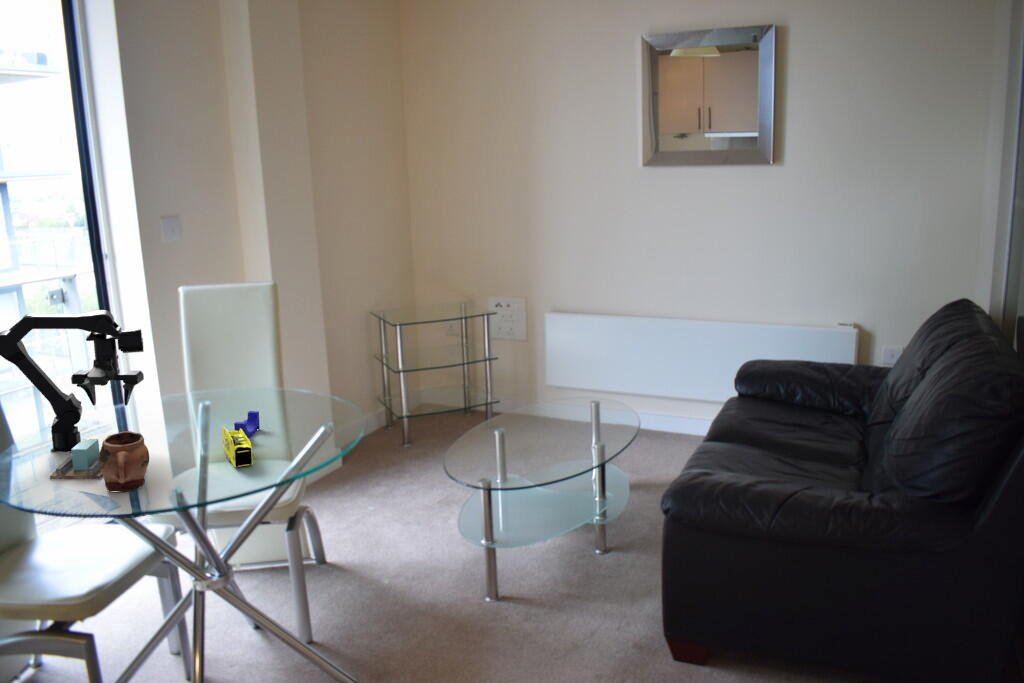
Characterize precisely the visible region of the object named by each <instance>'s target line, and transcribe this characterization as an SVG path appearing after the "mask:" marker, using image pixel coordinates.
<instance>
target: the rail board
mask: <svg viewBox="0 0 1024 683" xmlns="http://www.w3.org/2000/svg"><path fill="white" fill-rule="evenodd" d="M103 478H104V476H103V474H102V472H101V470H100V467H99V464H98V459H97V460H96V461H95V462H94V463H93V464H92V465H91V466H90V467H89V468H88V469H87V470H73V462H72V454H71V455H70V456H69V457H68V458H66V460H64V461H63V462H62V463H60V464H59V465H58V466H57V467H56V468H55V470H54V472H52V473H51V474H50V475H49V480H101V479H103Z"/></svg>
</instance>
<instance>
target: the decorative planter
mask: <svg viewBox="0 0 1024 683" xmlns="http://www.w3.org/2000/svg"><path fill="white" fill-rule="evenodd" d="M99 452H100V453H99V456H98V464H99V467H100V470H101V472H102V474H103V479H104V485H105V487H106V490H107V491H108V490H109V491H108V492H110V491H126V492H129V491H128V490H132V491H134V489H135V490H137V489H139V488H141V487H143V486H144V484H145V481H146V480H145V478H146V477H145V476H146V473H147V469H148V466H149V464H150V452H149V449H148V446H146V444H145V438H144V436H143V435H142V433H141V432H134V431H130V430H125V431H121V432H117V433H113V434H110V435H108V436H107V437H106V438H105V439H103V441H102V446H101V447H100V449H99Z"/></svg>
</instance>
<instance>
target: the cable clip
mask: <svg viewBox="0 0 1024 683" xmlns="http://www.w3.org/2000/svg"><path fill="white" fill-rule="evenodd" d="M233 425H234V426H233V427H234V428H233V429H234V431H235V430H237V431H239V430H240V429H242V431H243V432H244V433H245V435H246V436H247V438H248V439H249V440H250V438H251V437H253V435H254V434H256V433H257V432H258V431H257V429H259V428H260V411H255V410H254V411H253V410H249V411H248V412H247V419H244V420H243V421H235V422H234V423H233ZM259 430H260V429H259Z"/></svg>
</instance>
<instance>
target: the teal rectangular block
mask: <svg viewBox="0 0 1024 683" xmlns="http://www.w3.org/2000/svg"><path fill="white" fill-rule="evenodd" d="M70 453H71V455H72V462H73V470H87V469H88V468H89V467H90V466H91V465H92V464H93V463H94V462H95V461H96V460H97V459H98V456H99V453H100V443H99V439H98V438H83V439H81V442H79V443H78V444H77V445H76V446H75V447H73V448H72V449H71V452H70Z"/></svg>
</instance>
